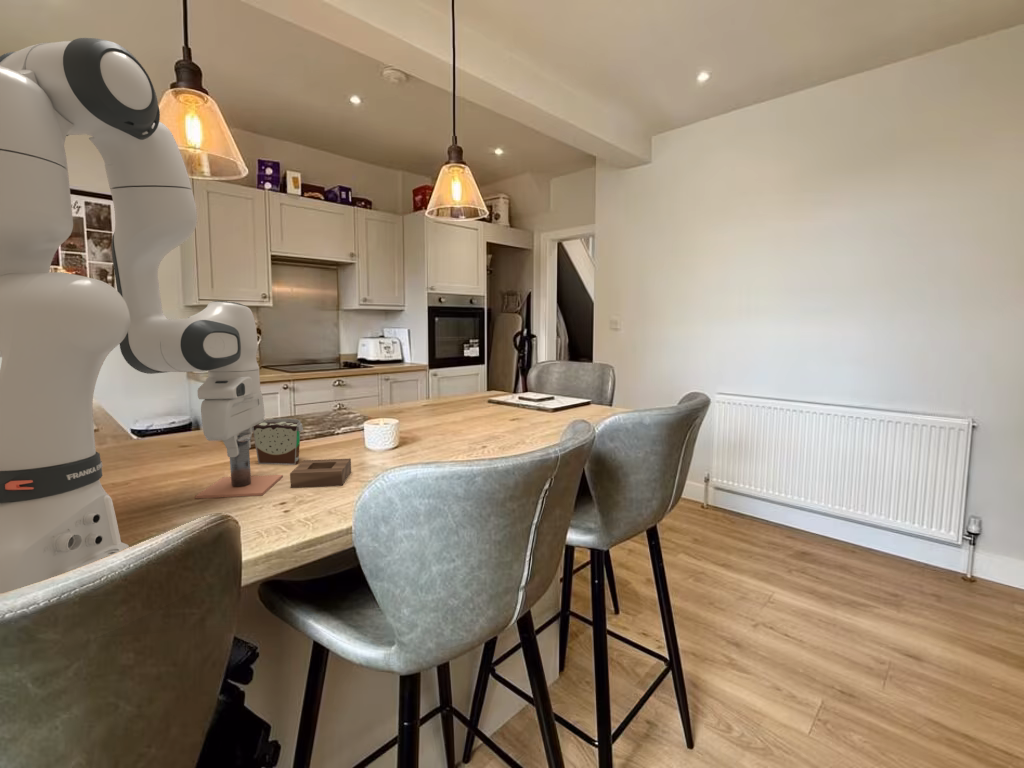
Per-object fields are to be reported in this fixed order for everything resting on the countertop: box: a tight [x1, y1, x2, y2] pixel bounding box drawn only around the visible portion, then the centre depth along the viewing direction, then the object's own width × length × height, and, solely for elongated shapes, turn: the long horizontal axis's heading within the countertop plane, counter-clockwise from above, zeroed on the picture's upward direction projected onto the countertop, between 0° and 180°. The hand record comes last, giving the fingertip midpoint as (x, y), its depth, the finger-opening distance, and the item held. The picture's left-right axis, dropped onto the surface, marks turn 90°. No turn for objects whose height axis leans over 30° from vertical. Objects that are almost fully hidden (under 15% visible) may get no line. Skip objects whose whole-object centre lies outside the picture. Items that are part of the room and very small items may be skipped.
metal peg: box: [229, 433, 252, 487], centre depth 98 cm, size 4×4×10 cm
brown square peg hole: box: [289, 458, 352, 489], centre depth 104 cm, size 10×10×3 cm
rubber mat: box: [194, 474, 284, 500], centre depth 99 cm, size 12×12×1 cm
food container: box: [252, 418, 304, 466], centre depth 118 cm, size 12×6×10 cm, turn 84°
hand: (239, 453), depth 98 cm, fingers open, 4 cm apart
